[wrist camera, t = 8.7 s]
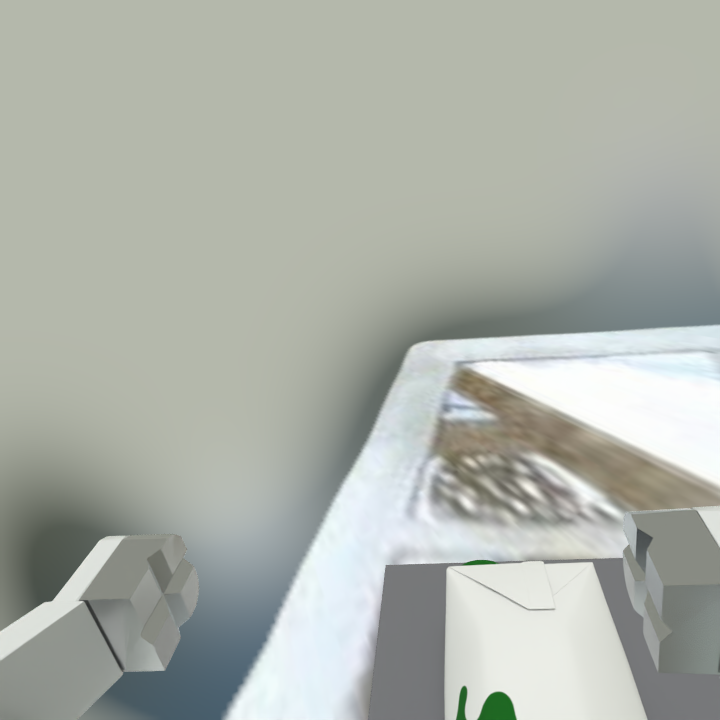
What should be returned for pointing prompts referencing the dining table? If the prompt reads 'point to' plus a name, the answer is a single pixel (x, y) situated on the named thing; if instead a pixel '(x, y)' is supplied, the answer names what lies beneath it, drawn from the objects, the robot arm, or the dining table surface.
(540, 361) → the dining table surface
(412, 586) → the mat
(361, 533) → the dining table surface
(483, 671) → the soya milk
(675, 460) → the dining table surface
